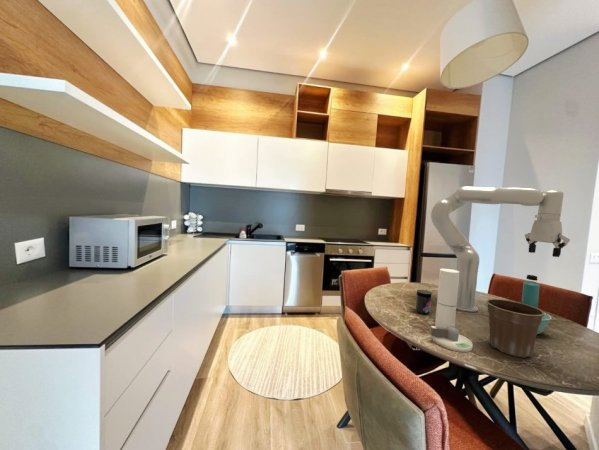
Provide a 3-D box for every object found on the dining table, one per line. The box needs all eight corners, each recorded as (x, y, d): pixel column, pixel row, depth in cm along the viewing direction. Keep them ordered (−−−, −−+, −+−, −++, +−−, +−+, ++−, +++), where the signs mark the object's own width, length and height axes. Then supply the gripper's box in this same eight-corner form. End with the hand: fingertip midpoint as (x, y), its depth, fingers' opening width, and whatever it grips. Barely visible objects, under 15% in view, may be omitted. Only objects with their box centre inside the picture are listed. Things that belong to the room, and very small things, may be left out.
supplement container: (420, 315, 120) (422, 294, 119) (412, 309, 127) (413, 289, 126) (433, 315, 121) (435, 294, 120) (424, 309, 128) (425, 289, 127)
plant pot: (477, 334, 103) (481, 295, 102) (527, 343, 97) (531, 303, 96) (490, 354, 88) (494, 309, 87) (549, 367, 82) (555, 319, 81)
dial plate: (427, 340, 96) (427, 336, 95) (439, 330, 104) (439, 327, 104) (466, 356, 86) (467, 351, 86) (476, 344, 95) (476, 339, 95)
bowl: (539, 342, 99) (542, 321, 99) (494, 325, 113) (495, 307, 112) (556, 334, 106) (558, 315, 106) (511, 319, 120) (513, 302, 120)
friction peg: (455, 335, 97) (455, 327, 97) (460, 341, 93) (461, 331, 93) (429, 333, 98) (429, 324, 98) (433, 338, 94) (433, 329, 94)
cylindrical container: (451, 326, 110) (456, 269, 108) (456, 333, 103) (461, 273, 101) (433, 323, 112) (438, 267, 111) (436, 329, 105) (441, 271, 104)
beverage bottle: (540, 317, 125) (544, 277, 124) (525, 315, 127) (529, 276, 126) (531, 311, 132) (535, 274, 131) (516, 310, 133) (520, 273, 132)
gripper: (521, 216, 123) (517, 250, 124) (565, 218, 106) (559, 258, 107) (533, 217, 124) (529, 251, 126) (578, 219, 108) (572, 258, 109)
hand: (543, 254), depth 116 cm, fingers open, 9 cm apart
